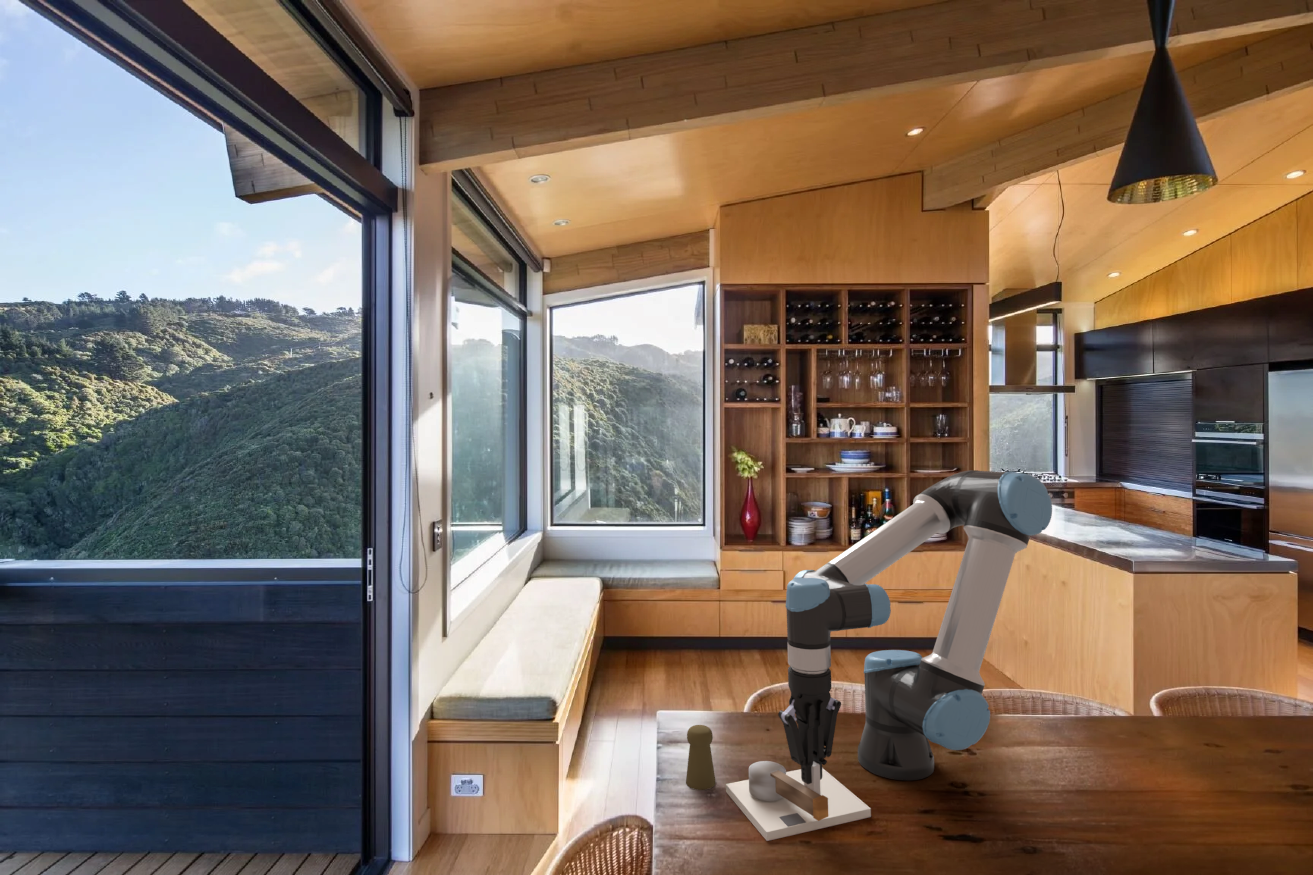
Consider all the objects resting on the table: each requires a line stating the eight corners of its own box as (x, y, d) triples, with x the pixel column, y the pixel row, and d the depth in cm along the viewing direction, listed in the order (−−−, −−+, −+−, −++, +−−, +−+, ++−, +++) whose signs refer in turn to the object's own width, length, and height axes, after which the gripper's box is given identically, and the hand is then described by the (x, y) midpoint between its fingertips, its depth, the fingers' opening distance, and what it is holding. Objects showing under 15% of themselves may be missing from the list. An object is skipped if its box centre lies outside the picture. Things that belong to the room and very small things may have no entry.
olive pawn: (714, 791, 131) (712, 734, 131) (683, 788, 132) (682, 732, 132) (717, 775, 136) (716, 721, 136) (688, 773, 138) (687, 720, 138)
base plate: (819, 772, 137) (819, 764, 137) (870, 816, 121) (870, 807, 121) (725, 791, 130) (725, 783, 130) (766, 840, 114) (766, 831, 114)
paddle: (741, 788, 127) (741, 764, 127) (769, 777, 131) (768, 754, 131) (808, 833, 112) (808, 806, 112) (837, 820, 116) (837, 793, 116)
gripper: (821, 654, 125) (824, 779, 125) (767, 667, 119) (770, 799, 119) (851, 666, 119) (854, 798, 119) (795, 680, 112) (798, 820, 112)
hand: (812, 798), depth 119 cm, fingers closed
